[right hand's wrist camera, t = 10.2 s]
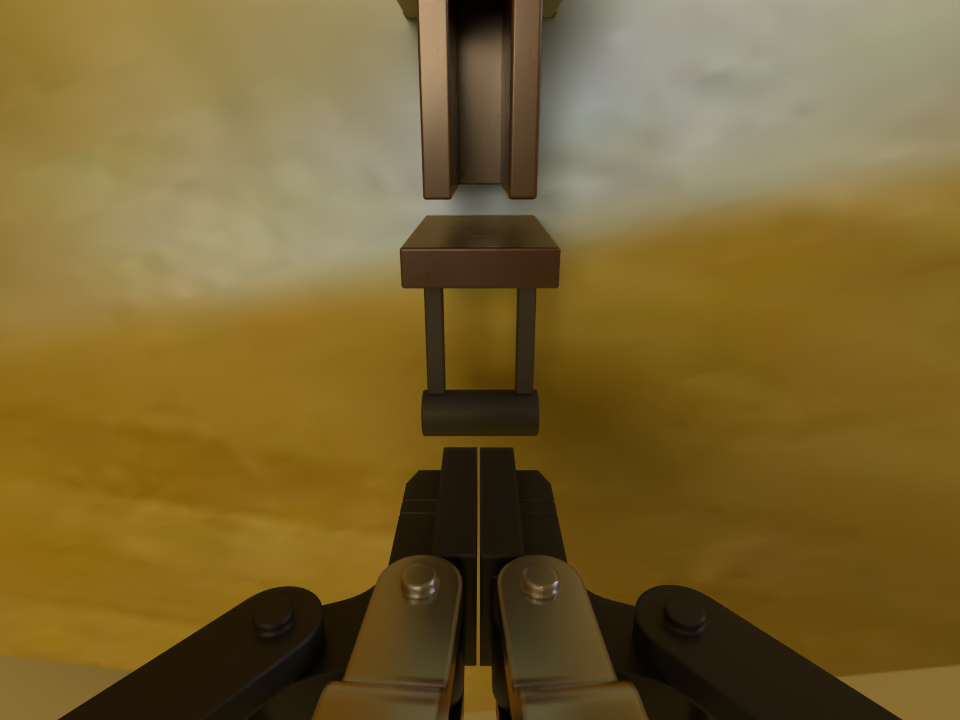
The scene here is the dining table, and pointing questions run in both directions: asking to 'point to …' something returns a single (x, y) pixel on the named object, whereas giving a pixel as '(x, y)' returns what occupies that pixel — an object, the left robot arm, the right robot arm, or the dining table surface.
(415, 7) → the cabinet
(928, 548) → the dining table surface
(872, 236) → the dining table surface
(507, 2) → the drawer
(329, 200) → the dining table surface
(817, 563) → the dining table surface
